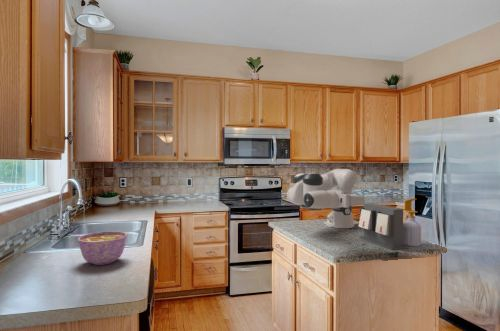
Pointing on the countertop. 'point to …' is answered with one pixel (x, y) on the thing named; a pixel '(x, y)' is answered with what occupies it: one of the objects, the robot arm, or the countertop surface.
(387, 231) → the block
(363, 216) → the block
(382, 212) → the power panel
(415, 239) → the soap bottle
